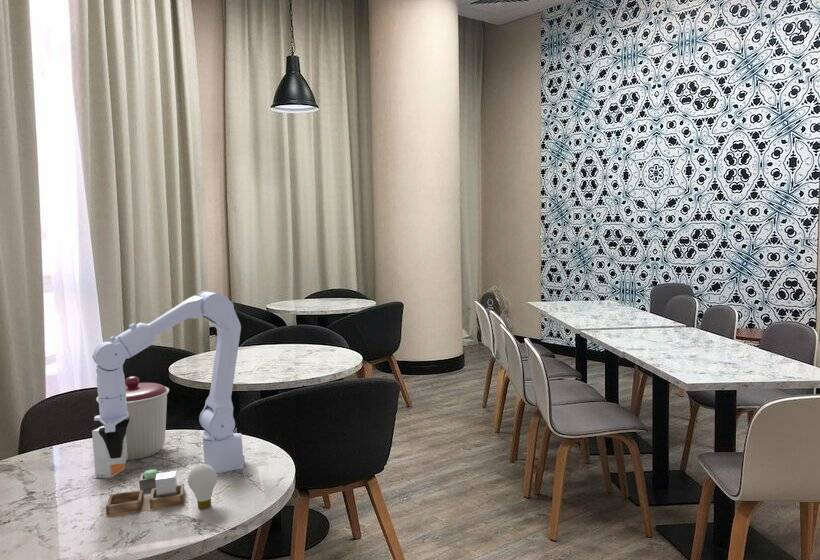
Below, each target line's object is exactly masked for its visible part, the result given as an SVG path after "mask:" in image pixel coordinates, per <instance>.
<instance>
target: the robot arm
mask: <svg viewBox="0 0 820 560" xmlns="http://www.w3.org/2000/svg"><path fill="white" fill-rule="evenodd" d="M234 306H235V305H234V303H233V302H232V301H231V300H230V298H228V297H227V296H226V295H224V294H223V293H220V292H214V291H211V290H203V291H200V292H199V293H198V294H197V295H191V296H190V297H187V299H185V300H183V301H182V302H180V303H178V304H177V305H175V306H174V307H173V308H171V309H170V310H168V311H166V312H165V313H163V314H161V315H159V316H158V317H157V318H155V319H154V320H152V321H150V322H149V323H145V322H138V323H137V324H136V323H134V322H133V323H131V324H129V325H128V327H129V328H128V329H126V330H125V331H123V332H121V333H120V334H118V335H117V336H115V335H112V336H110V337H109V340H110V341H103V342H100V343H99V344H98V345H96V347H95V349H94V350H93V354H92V360H93V361H94V363H95V364H96V369H95V370H96V372H95V373H96V386H97V387H96V390H97V397H98V400H99V403H98V410H99V414H98V415H95V416H94V418H93V420H94V421H96V422H97V421H99V422H100V423H101V424H102V426H104V427H105V428H100V429H99V434H100V436H101V437H102V438H103V440H104V442H105V444H106V446H107V449H108V453H109V456H110V458H111V459H114V458H121V454H122V444H123V437H124V434H126V429H127V426H128V423H129V421H130V418H129V417H128V416H129V413H128V412H127V401H126V389H125V385H126V384H125V380H126V378H125V373H124V366H123V365H124V364H125V362H126V359H130V358H132V357H134V356H136V355H137V354H139V353H140V352H142V351H144V350H145V349H147V348H149V347H150V346H152V345H154V344H155V341H156V337H157V336H158V335H161V334H162V333H163V332H165V331H167V330H169V329H171V328H173V327H175V326H176V325H178V324H180V323H182V322H184V321H186V320H189V319H203V318H204V319H206V320H208V321H209V322H210V324H211V325H213V327H214V328H215V330H217V331H218V334H217V341H216V346H215V354H214V361H213V369H212V374H211V382H210V389H209V394H208V396H207V398H206V399H205V405H204V407H203V409H202V411H200V413H199V417H198V419H199V424H200V426H201V427H202V428H203V429H204V431H203V433H202V445H203V447H202V449H203V460H204V461H203V462H204V463H203V464H207V465H209V466H211V467H213V468H214V470H215V471H216V474H220V473H221V474H222V473H227V472H230V471H235V470H236V471H237V470H243V469H245V465H244V464H245V462H246V461H245V455H244V453H243V452H244V450H243V437H242V433H240V432H239V433H234V430H235V427H236V421H235V418H234V404H233V401H232V395H233V394H232V393H233V388H234V380H235V379H234V378H235V372H236V365H237V358H238V352H239V344H240V337H241V332H242V331H241V330H242V325H241V322H240V320H239V318H238V314H237V312H236V310H235V309H234V308H235V307H234Z"/></svg>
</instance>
